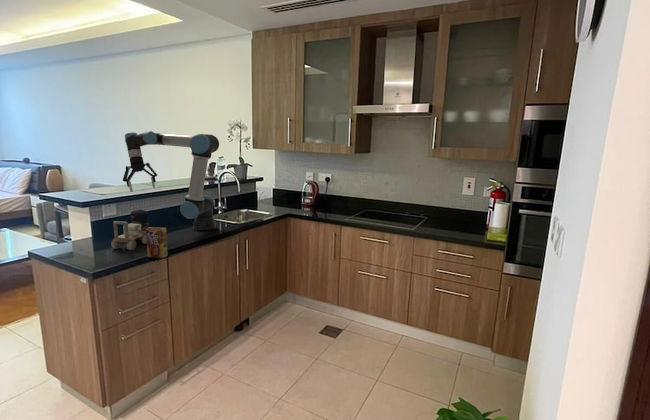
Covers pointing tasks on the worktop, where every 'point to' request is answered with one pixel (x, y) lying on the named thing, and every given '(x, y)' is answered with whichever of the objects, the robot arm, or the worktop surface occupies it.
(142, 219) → the canister
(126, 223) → the wooden toy truck
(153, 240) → the candy box
